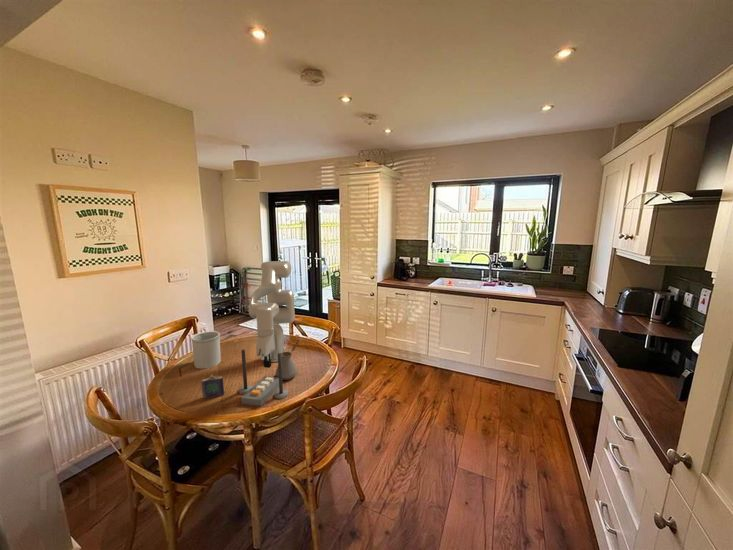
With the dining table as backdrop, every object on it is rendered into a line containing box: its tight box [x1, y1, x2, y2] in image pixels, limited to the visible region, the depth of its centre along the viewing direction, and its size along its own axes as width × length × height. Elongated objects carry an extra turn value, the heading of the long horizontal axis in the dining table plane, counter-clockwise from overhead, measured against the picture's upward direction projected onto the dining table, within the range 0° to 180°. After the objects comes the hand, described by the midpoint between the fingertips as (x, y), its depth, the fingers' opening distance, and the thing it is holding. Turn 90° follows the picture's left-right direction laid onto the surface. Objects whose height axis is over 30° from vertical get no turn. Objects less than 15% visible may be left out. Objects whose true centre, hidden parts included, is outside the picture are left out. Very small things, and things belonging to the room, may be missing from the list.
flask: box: [200, 373, 225, 400], centre depth 138 cm, size 9×3×11 cm, turn 110°
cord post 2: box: [273, 353, 289, 400], centre depth 138 cm, size 6×6×21 cm
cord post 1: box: [238, 349, 253, 395], centre depth 141 cm, size 6×6×21 cm
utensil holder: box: [190, 330, 221, 369], centre depth 170 cm, size 15×15×18 cm
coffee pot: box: [274, 339, 300, 381], centre depth 160 cm, size 21×12×15 cm, turn 166°
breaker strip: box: [240, 375, 279, 407], centre depth 141 cm, size 20×10×4 cm, turn 169°
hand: (267, 366), depth 144 cm, fingers closed
